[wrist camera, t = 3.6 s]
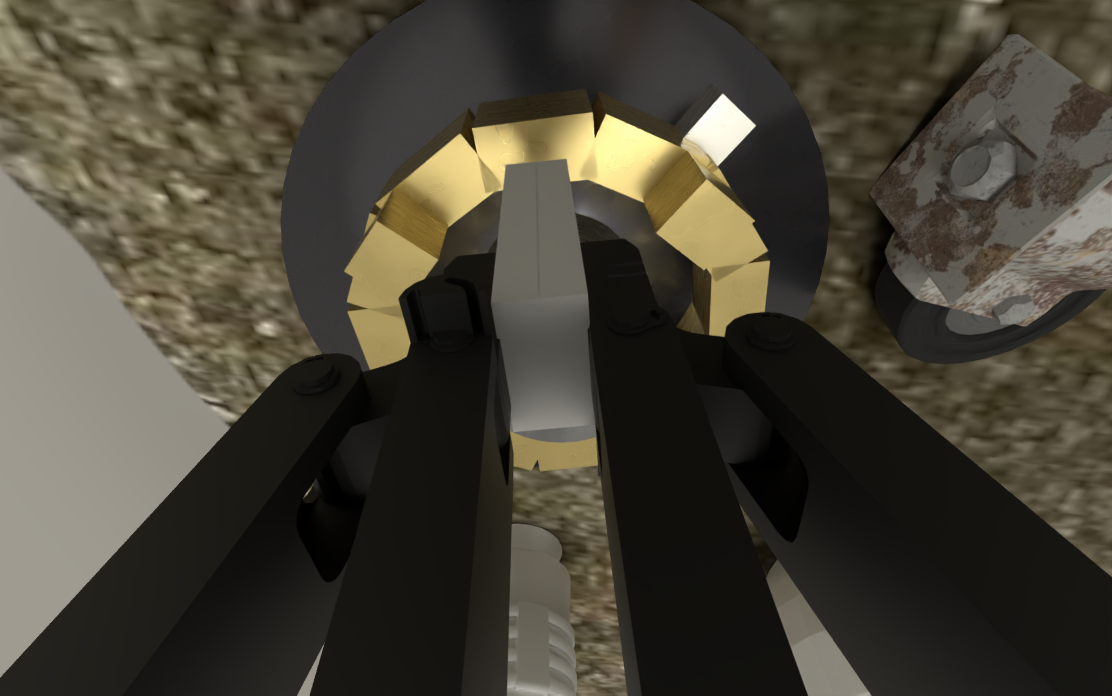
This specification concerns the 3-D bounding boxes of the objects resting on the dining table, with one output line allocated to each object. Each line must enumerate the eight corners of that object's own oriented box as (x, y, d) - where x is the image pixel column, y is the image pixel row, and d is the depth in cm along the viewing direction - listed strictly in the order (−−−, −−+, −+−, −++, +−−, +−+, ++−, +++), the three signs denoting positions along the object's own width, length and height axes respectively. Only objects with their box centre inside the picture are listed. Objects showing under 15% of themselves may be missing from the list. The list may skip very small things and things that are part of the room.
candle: (586, 530, 37) (612, 833, 24) (548, 591, 40) (554, 879, 28) (479, 508, 35) (450, 820, 23) (449, 573, 39) (412, 871, 27)
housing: (192, 17, 20) (41, 60, 14) (858, -80, 19) (1013, -80, 13) (383, 466, 33) (348, 590, 27) (784, 422, 32) (844, 541, 26)
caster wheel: (938, 306, 31) (785, 268, 27) (1174, 111, 23) (1000, 23, 20) (1014, 414, 27) (845, 384, 23) (1335, 220, 19) (1150, 132, 15)
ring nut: (315, 125, 20) (253, 182, 16) (756, 65, 20) (822, 108, 15) (424, 437, 29) (405, 531, 25) (731, 403, 28) (768, 493, 24)
